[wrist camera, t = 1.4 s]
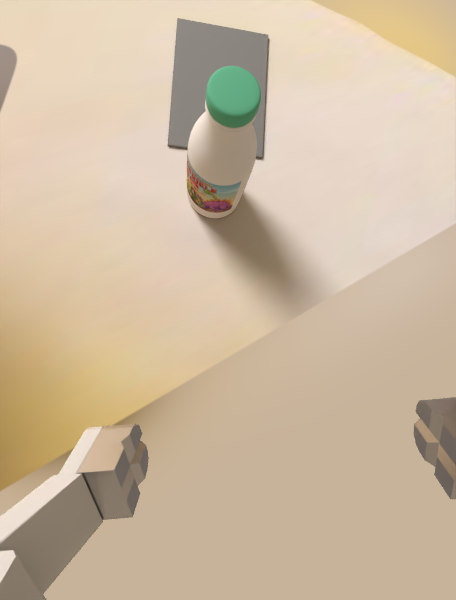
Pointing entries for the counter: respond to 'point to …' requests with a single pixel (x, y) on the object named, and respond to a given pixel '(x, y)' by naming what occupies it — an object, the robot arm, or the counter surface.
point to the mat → (202, 64)
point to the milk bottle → (223, 143)
